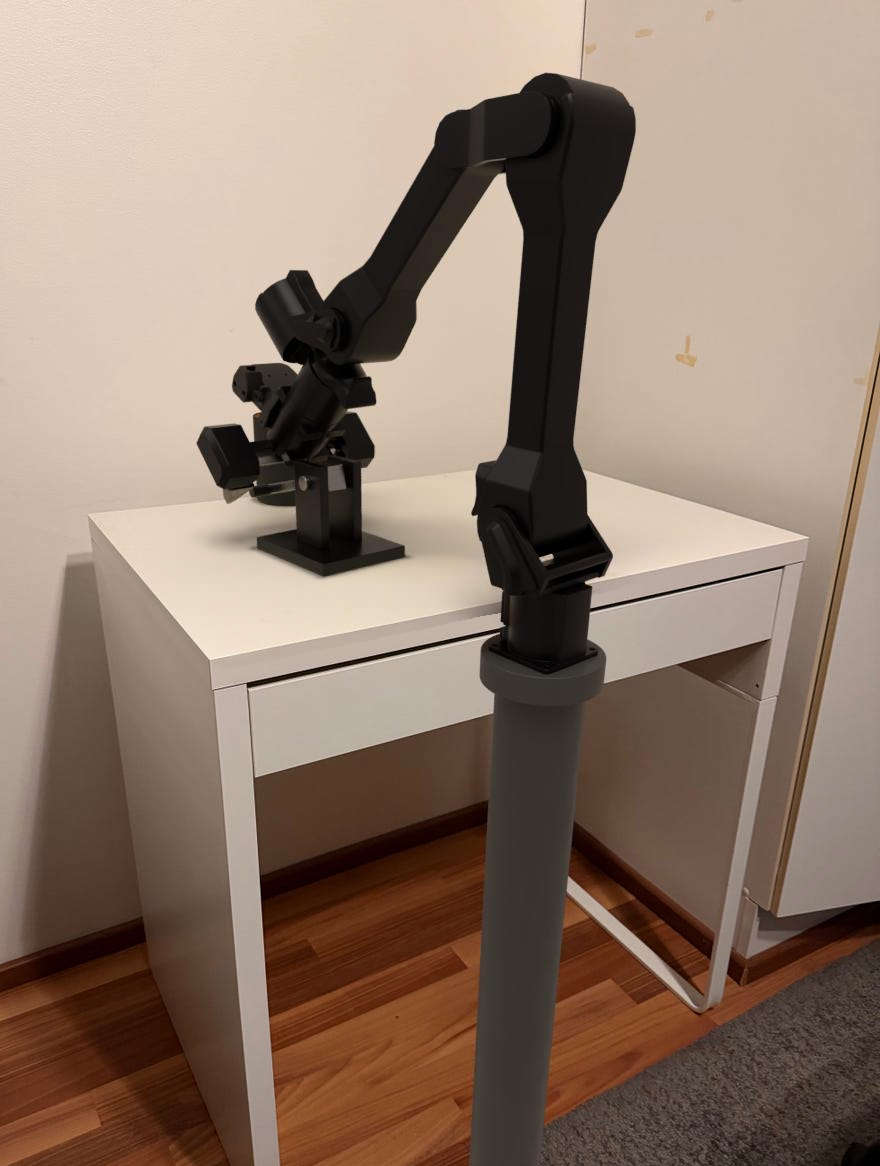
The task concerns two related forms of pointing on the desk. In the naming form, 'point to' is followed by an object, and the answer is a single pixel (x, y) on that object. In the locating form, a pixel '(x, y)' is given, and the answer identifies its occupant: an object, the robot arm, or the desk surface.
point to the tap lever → (334, 484)
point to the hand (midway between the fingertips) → (263, 494)
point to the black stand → (329, 524)
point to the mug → (273, 472)
